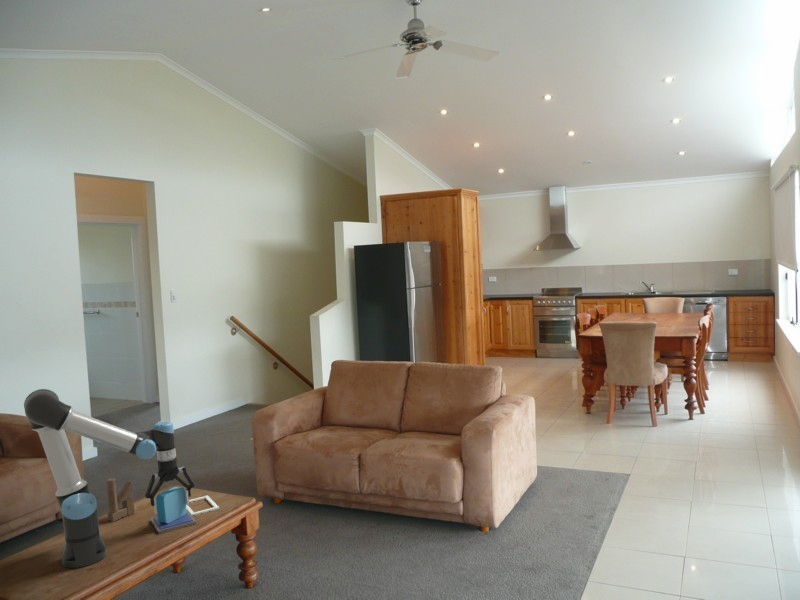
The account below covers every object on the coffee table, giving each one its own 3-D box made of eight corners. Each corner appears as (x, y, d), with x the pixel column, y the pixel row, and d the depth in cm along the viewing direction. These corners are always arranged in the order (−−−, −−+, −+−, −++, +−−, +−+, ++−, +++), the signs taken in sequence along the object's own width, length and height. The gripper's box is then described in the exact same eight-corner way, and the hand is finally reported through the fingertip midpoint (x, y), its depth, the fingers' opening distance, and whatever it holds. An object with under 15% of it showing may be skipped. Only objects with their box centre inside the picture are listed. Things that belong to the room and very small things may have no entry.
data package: (179, 512, 277) (176, 485, 277) (187, 513, 275) (184, 486, 275) (158, 523, 266) (155, 495, 266) (166, 525, 265) (163, 496, 264)
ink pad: (158, 534, 260) (158, 530, 260) (150, 521, 274) (150, 517, 274) (196, 523, 268) (195, 520, 268) (186, 511, 282) (186, 508, 282)
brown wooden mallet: (135, 513, 285) (131, 473, 284) (113, 522, 276) (108, 481, 275) (130, 511, 287) (126, 472, 286) (108, 521, 278) (103, 480, 277)
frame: (191, 516, 276) (191, 514, 276) (181, 503, 293) (181, 502, 293) (219, 508, 283) (219, 507, 283) (207, 496, 299) (207, 495, 299)
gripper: (137, 467, 260) (142, 519, 261) (198, 454, 272) (203, 503, 274) (134, 463, 266) (139, 513, 268) (194, 450, 279) (199, 498, 280)
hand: (172, 508), depth 271 cm, fingers closed on data package, 12 cm apart
